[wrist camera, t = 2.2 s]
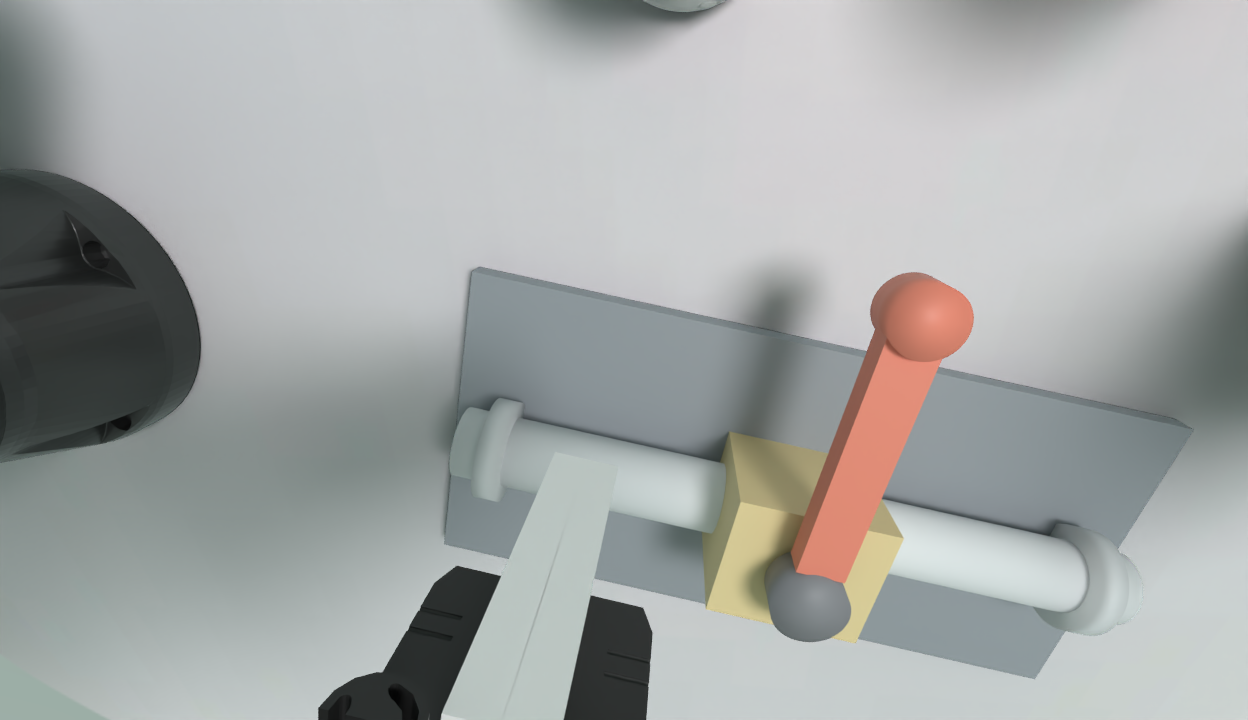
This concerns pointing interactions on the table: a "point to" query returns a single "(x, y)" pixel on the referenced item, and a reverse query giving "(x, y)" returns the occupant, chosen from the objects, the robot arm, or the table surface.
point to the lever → (865, 451)
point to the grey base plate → (801, 472)
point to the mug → (684, 4)
